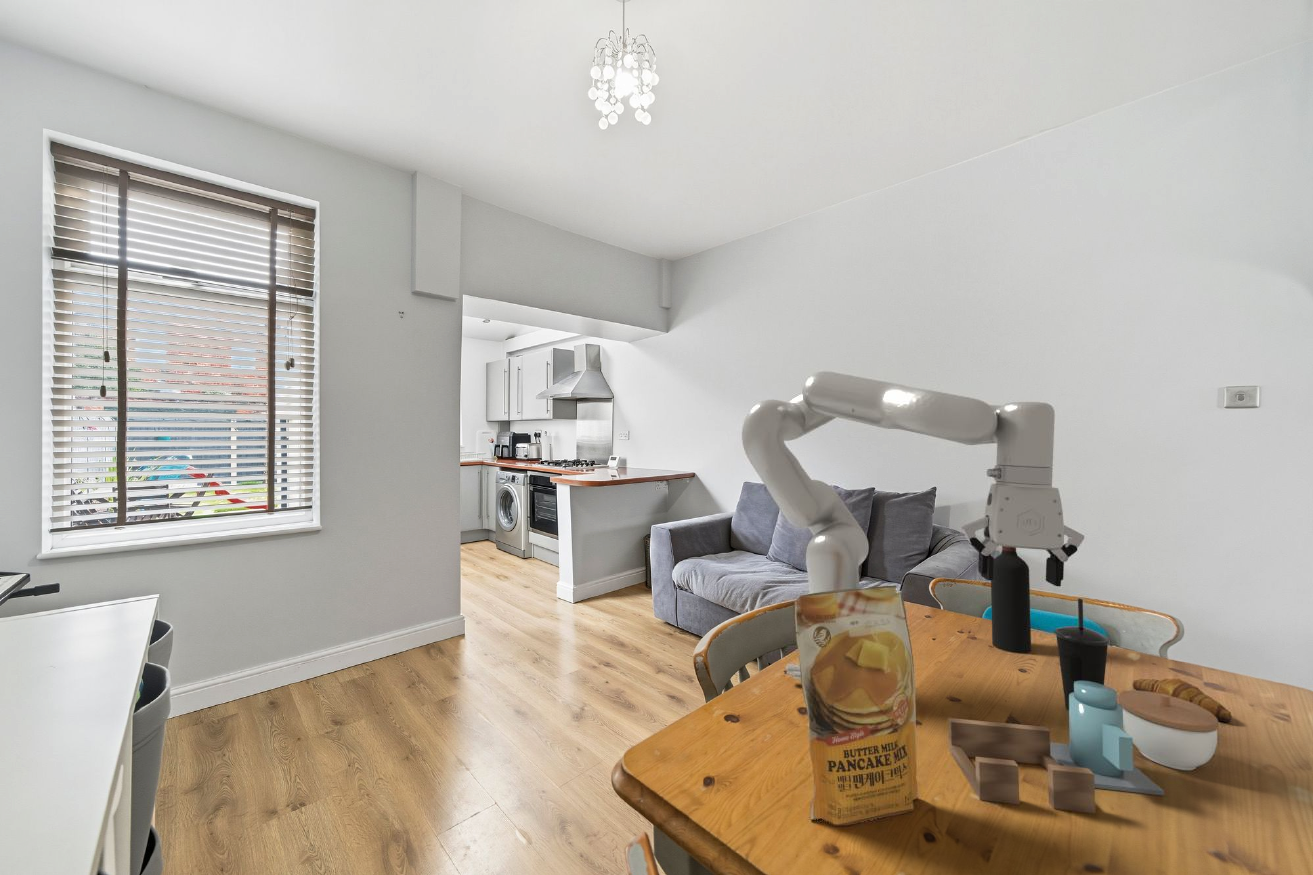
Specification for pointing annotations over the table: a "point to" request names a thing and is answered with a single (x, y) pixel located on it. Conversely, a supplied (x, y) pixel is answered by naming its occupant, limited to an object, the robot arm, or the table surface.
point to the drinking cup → (1081, 654)
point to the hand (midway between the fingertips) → (1019, 581)
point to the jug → (1098, 730)
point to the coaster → (1126, 782)
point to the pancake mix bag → (858, 702)
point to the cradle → (998, 766)
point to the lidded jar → (1169, 729)
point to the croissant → (1183, 694)
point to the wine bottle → (1011, 603)
